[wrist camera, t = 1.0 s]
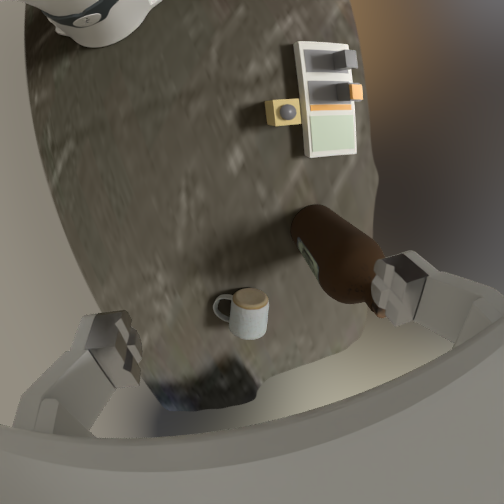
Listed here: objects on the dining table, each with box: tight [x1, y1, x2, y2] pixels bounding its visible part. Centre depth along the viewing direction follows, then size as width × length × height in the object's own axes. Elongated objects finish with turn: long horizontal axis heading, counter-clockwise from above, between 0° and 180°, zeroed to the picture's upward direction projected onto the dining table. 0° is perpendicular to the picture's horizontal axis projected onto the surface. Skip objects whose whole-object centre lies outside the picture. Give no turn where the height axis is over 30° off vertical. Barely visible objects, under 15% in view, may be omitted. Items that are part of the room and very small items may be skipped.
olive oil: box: [291, 205, 386, 318], centre depth 43 cm, size 11×11×25 cm
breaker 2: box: [336, 83, 363, 101], centre depth 37 cm, size 3×2×5 cm, turn 7°
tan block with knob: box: [265, 99, 301, 126], centre depth 39 cm, size 4×4×6 cm
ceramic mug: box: [213, 288, 269, 340], centre depth 55 cm, size 11×8×8 cm
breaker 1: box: [333, 49, 358, 70], centre depth 35 cm, size 3×2×4 cm, turn 7°
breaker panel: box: [293, 41, 357, 158], centre depth 41 cm, size 20×9×3 cm, turn 7°
